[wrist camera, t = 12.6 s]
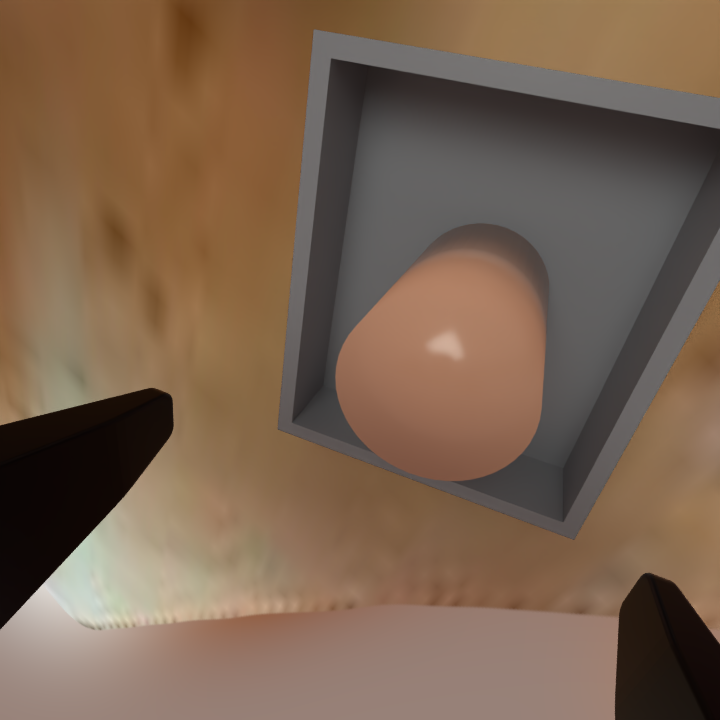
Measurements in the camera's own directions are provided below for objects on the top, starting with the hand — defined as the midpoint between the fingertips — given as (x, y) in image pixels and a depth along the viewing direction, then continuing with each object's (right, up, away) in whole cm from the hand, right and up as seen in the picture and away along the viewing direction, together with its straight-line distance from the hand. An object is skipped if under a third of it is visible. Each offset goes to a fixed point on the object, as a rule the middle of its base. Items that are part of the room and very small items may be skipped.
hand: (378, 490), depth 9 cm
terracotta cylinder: (+4, +5, +10) cm, 12 cm away
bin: (+4, +5, +10) cm, 12 cm away
